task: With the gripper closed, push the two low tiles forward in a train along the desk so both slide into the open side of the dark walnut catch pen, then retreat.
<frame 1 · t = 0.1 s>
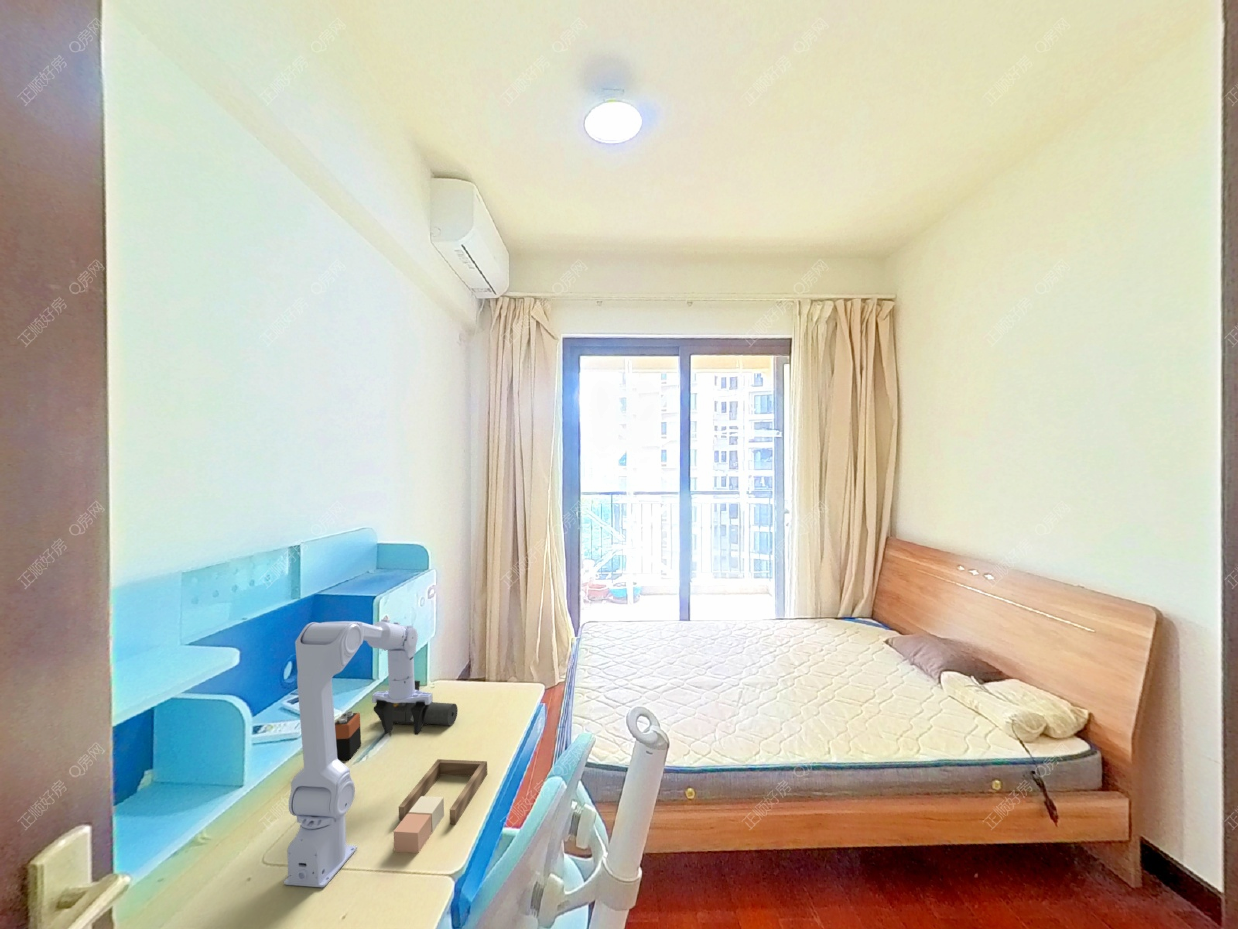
hand: (403, 732, 125), 10 cm above the table, fingers open, 7 cm apart
battery: (347, 754, 134), on the table
catch pen: (444, 797, 115), on the table
tile far: (427, 823, 107), on the table
tile near: (413, 843, 102), on the table
laser sight: (417, 723, 150), on the table
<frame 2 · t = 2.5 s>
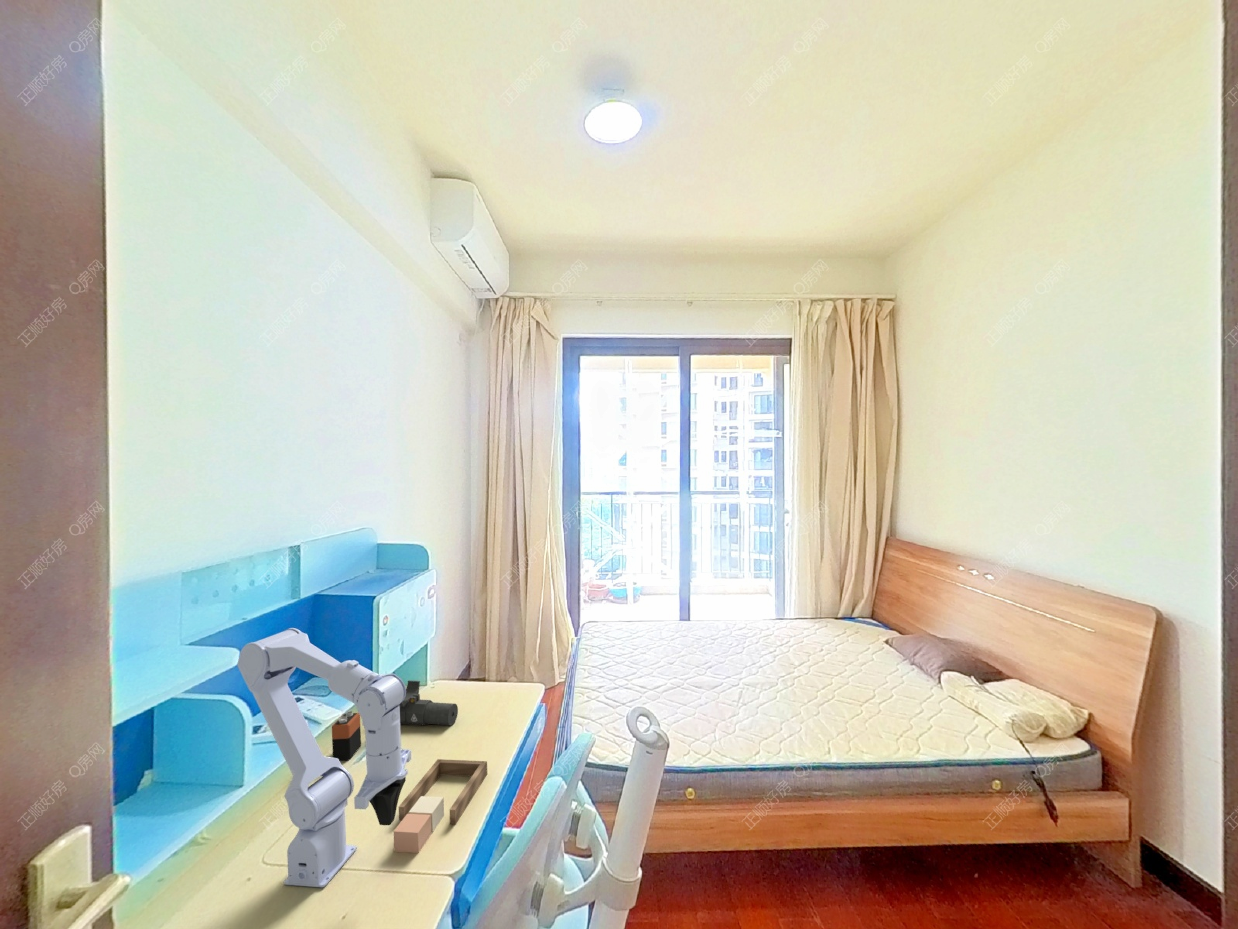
hand: (386, 822, 93), 10 cm above the table, fingers closed
nothing on the table moved.
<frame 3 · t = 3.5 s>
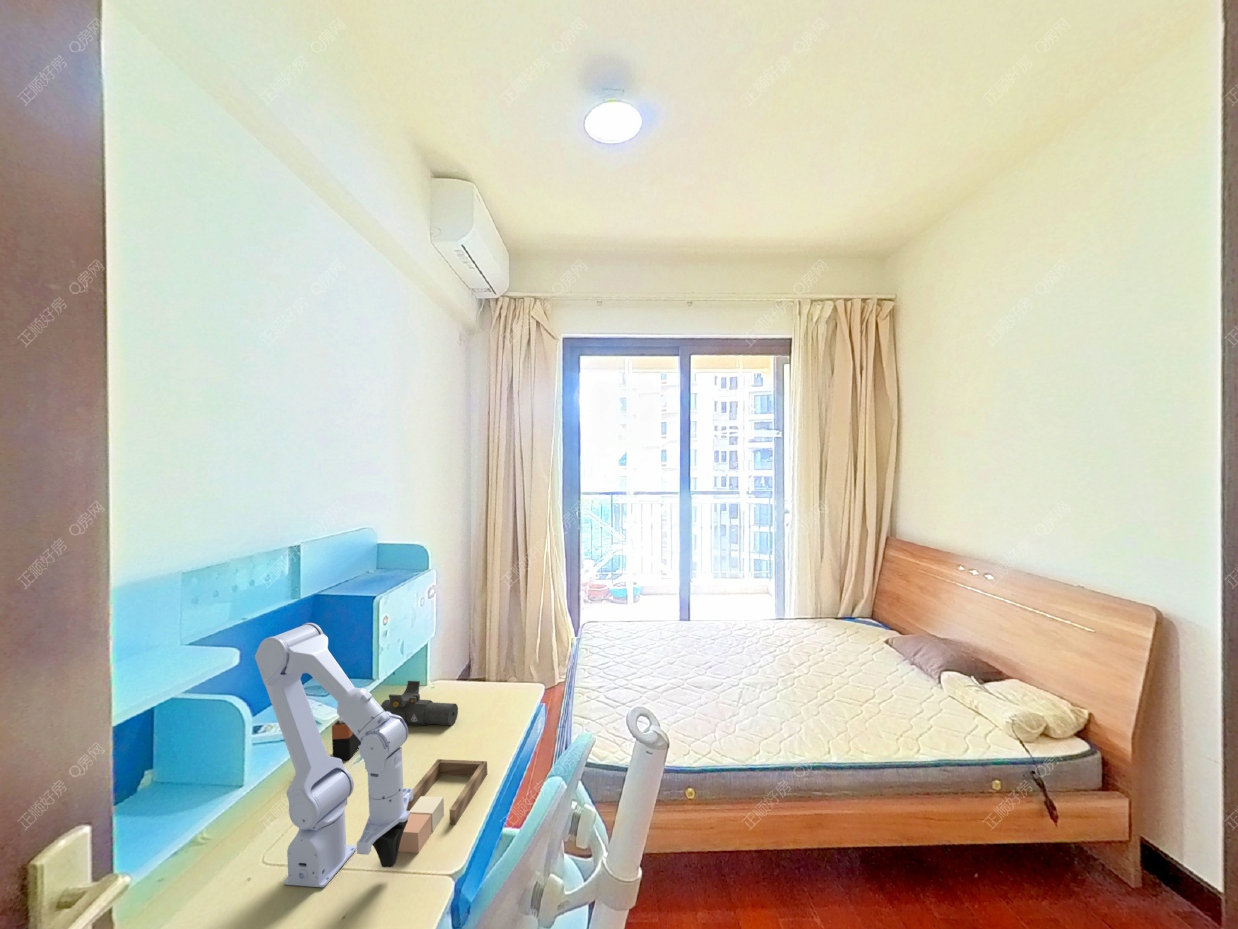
hand: (388, 864, 94), 2 cm above the table, fingers closed
nothing on the table moved.
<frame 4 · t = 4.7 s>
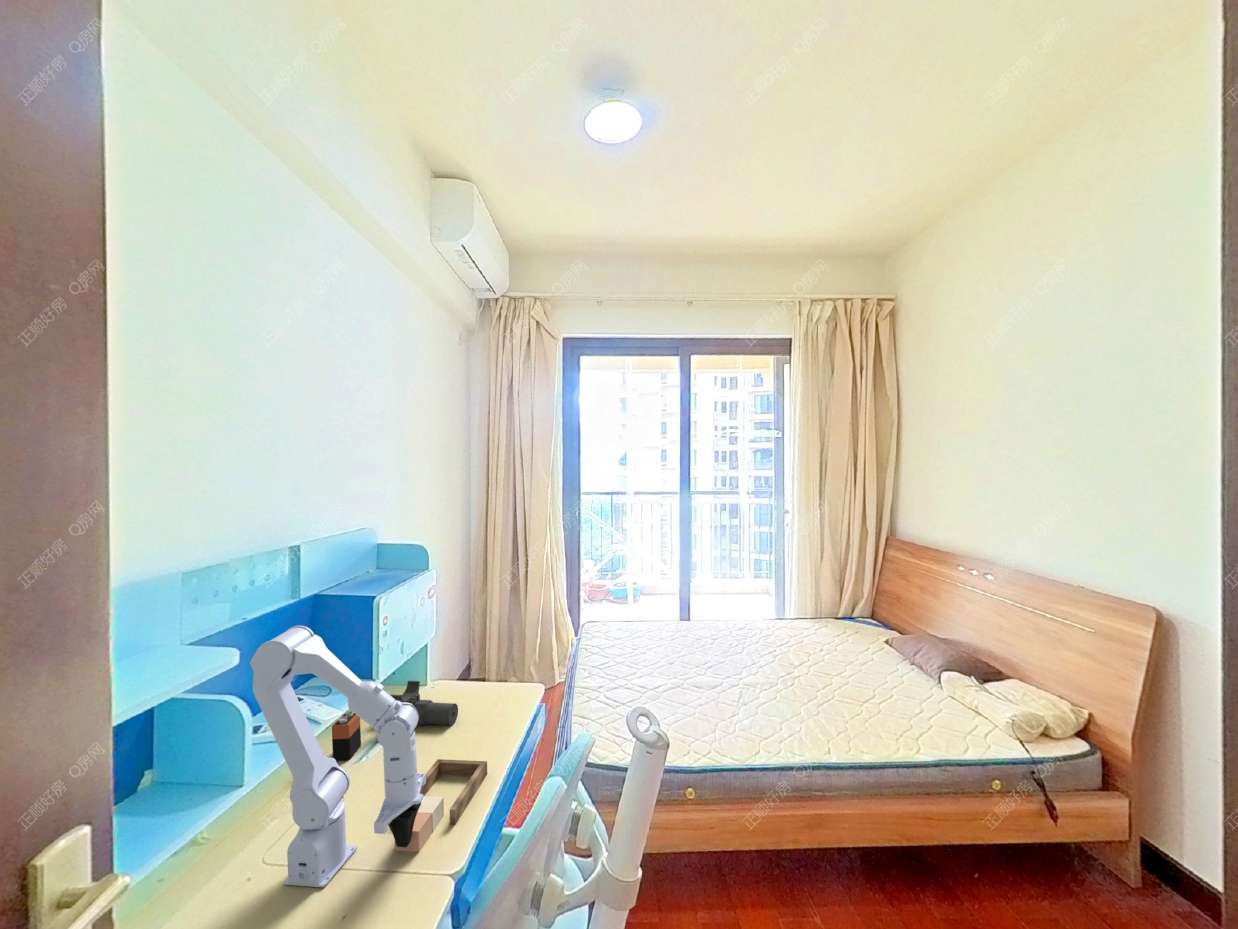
hand: (403, 844, 98), 2 cm above the table, fingers closed
tile near: (413, 842, 102), on the table, touching gripper
everything else where it was.
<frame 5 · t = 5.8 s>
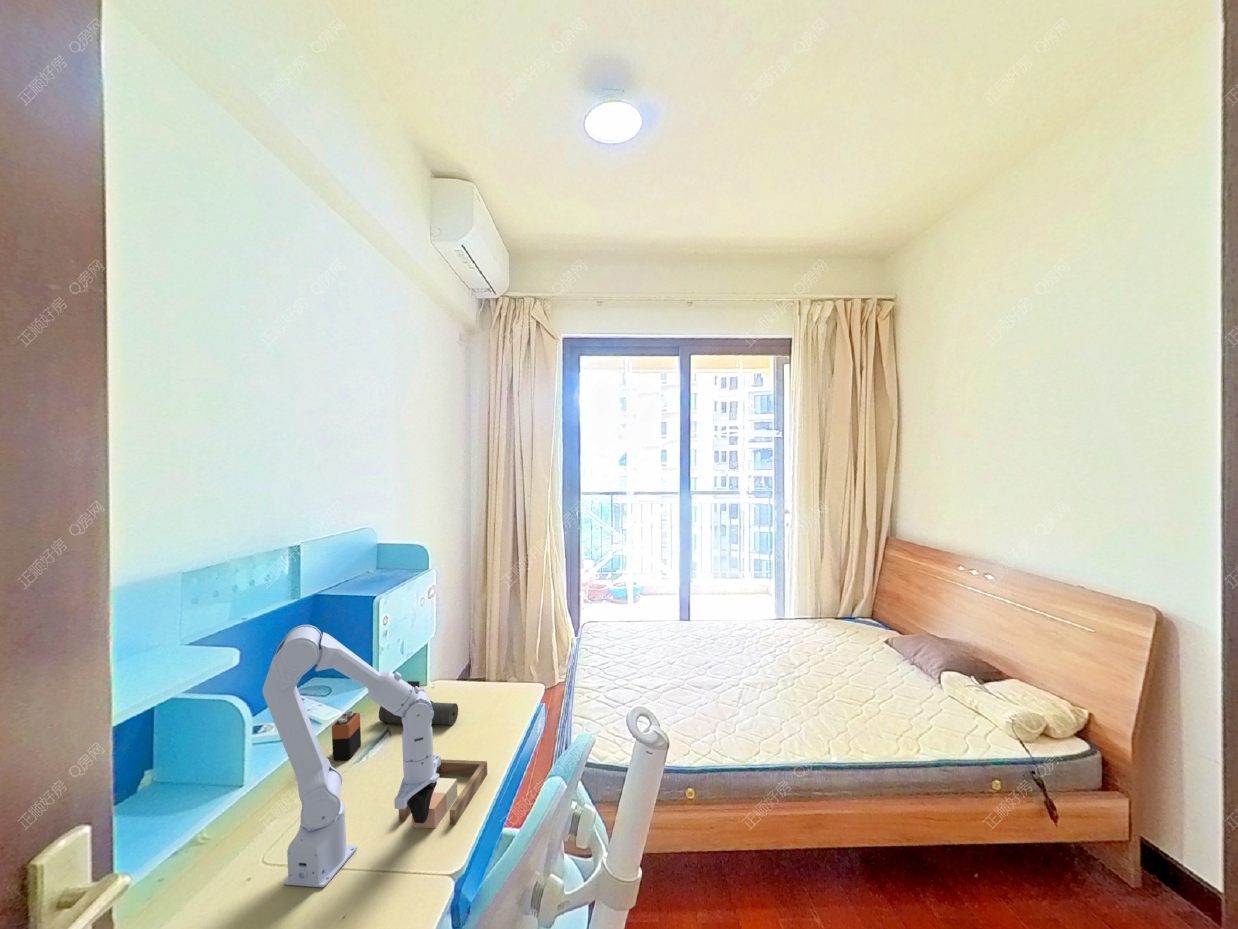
hand: (420, 821, 105), 2 cm above the table, fingers closed
tile far: (441, 803, 113), on the table, touching tile near
tile near: (429, 819, 108), on the table, touching gripper, tile far
everything else where it was.
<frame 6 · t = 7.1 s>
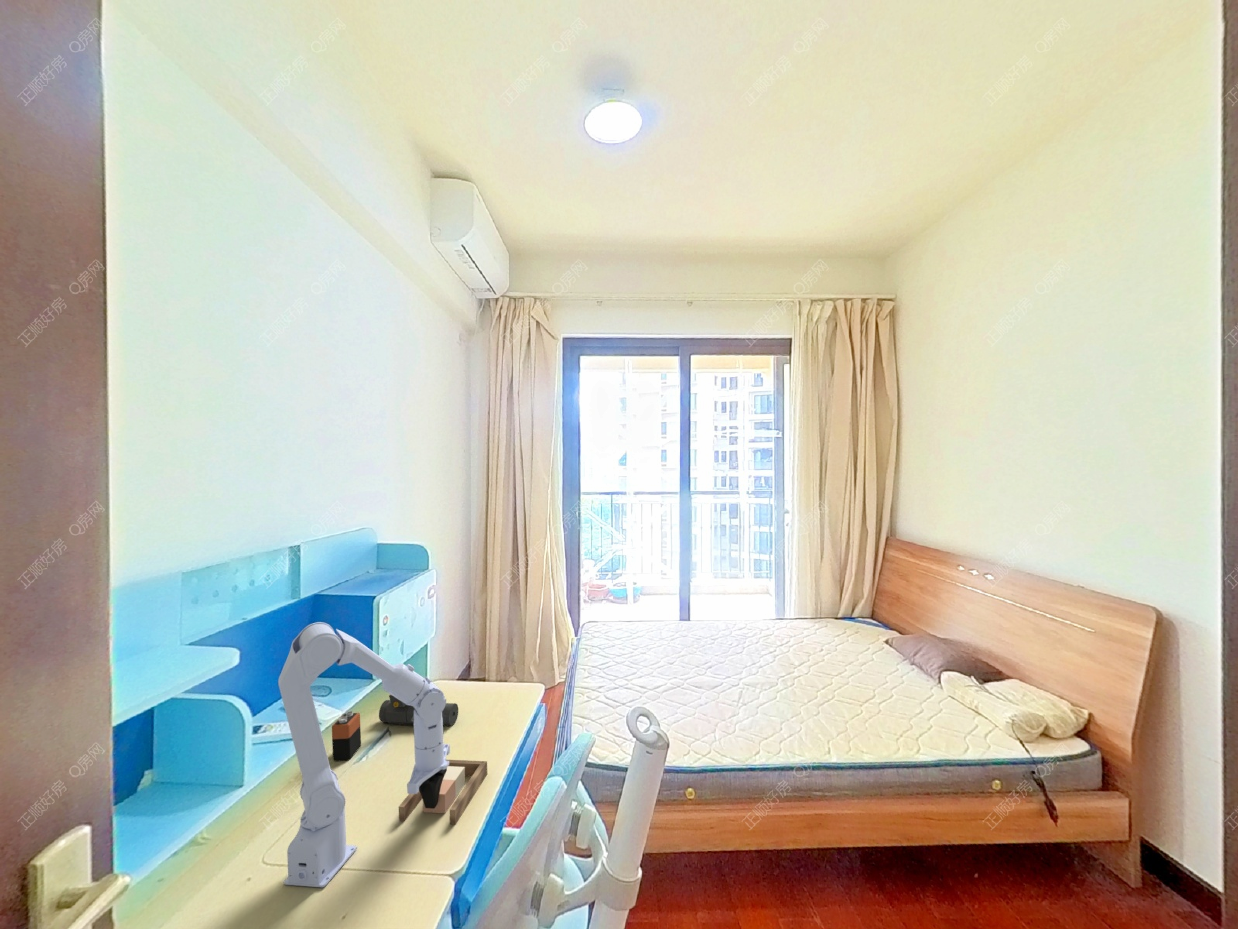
hand: (431, 806, 109), 2 cm above the table, fingers closed
tile far: (450, 790, 118), on the table
tile near: (439, 804, 113), on the table, touching gripper
everything else where it was.
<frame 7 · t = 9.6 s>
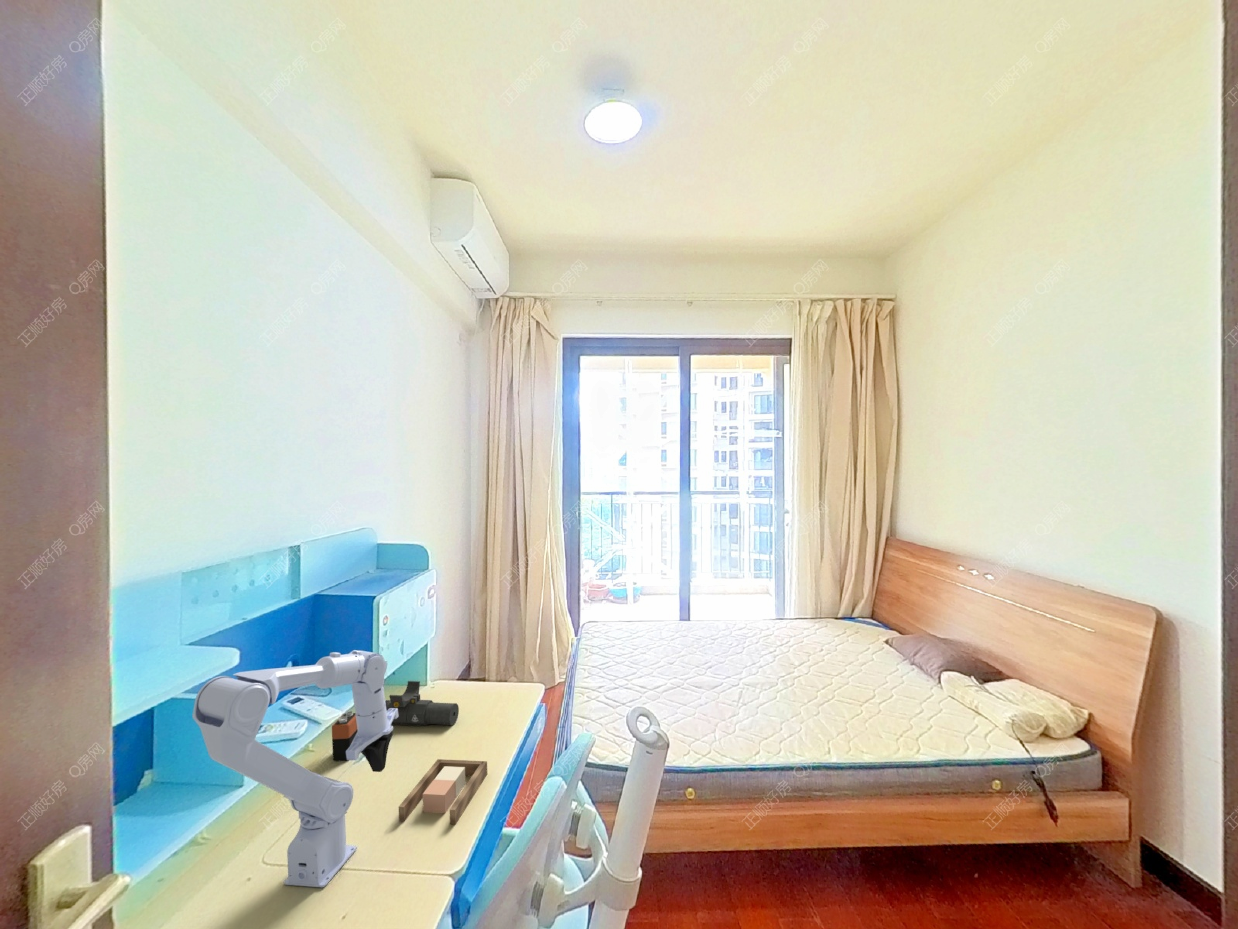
hand: (378, 769, 109), 11 cm above the table, fingers closed
tile near: (439, 805, 113), on the table
everything else where it was.
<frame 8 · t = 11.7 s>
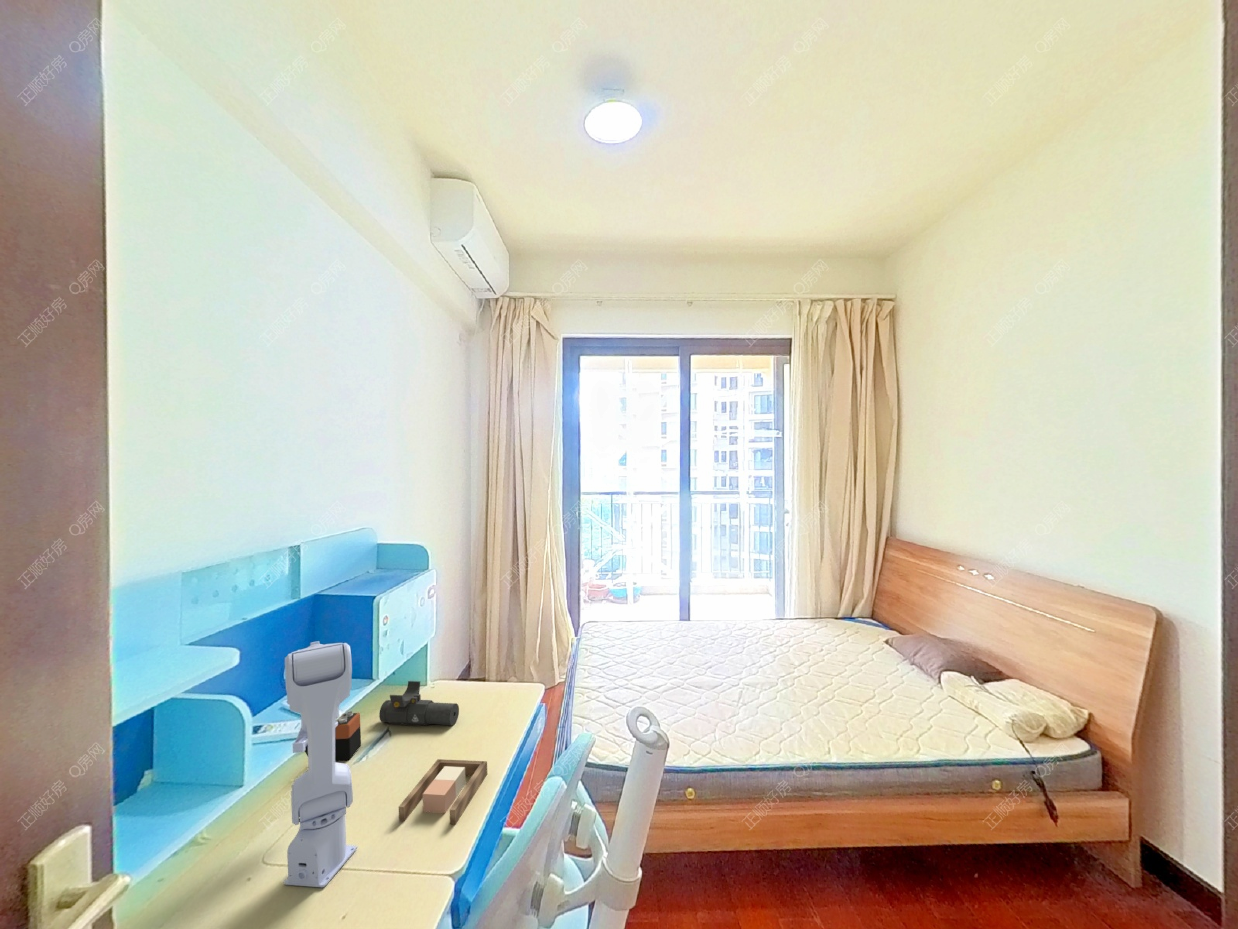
hand: (318, 767, 110), 10 cm above the table, fingers closed
nothing on the table moved.
at the end: tile near inside the target area (2.8 cm from its centre), on the table; tile far inside the target area (2.2 cm from its centre), on the table; tile near moved 11.2 cm from its start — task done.
